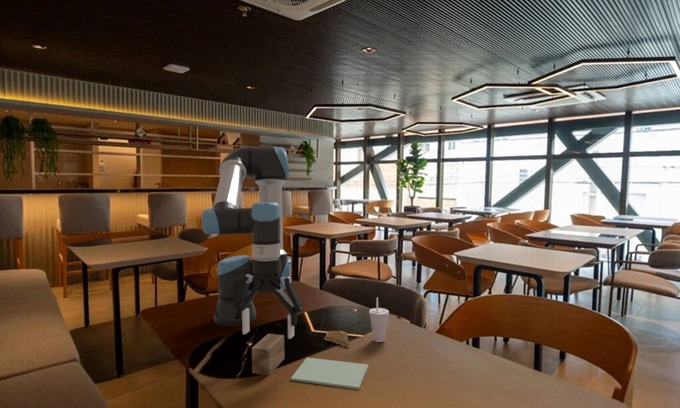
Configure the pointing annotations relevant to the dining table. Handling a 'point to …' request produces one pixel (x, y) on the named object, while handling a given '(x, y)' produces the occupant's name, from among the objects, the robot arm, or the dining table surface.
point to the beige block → (268, 354)
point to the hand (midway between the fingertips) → (268, 334)
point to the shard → (337, 337)
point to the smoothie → (378, 322)
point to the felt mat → (331, 373)
